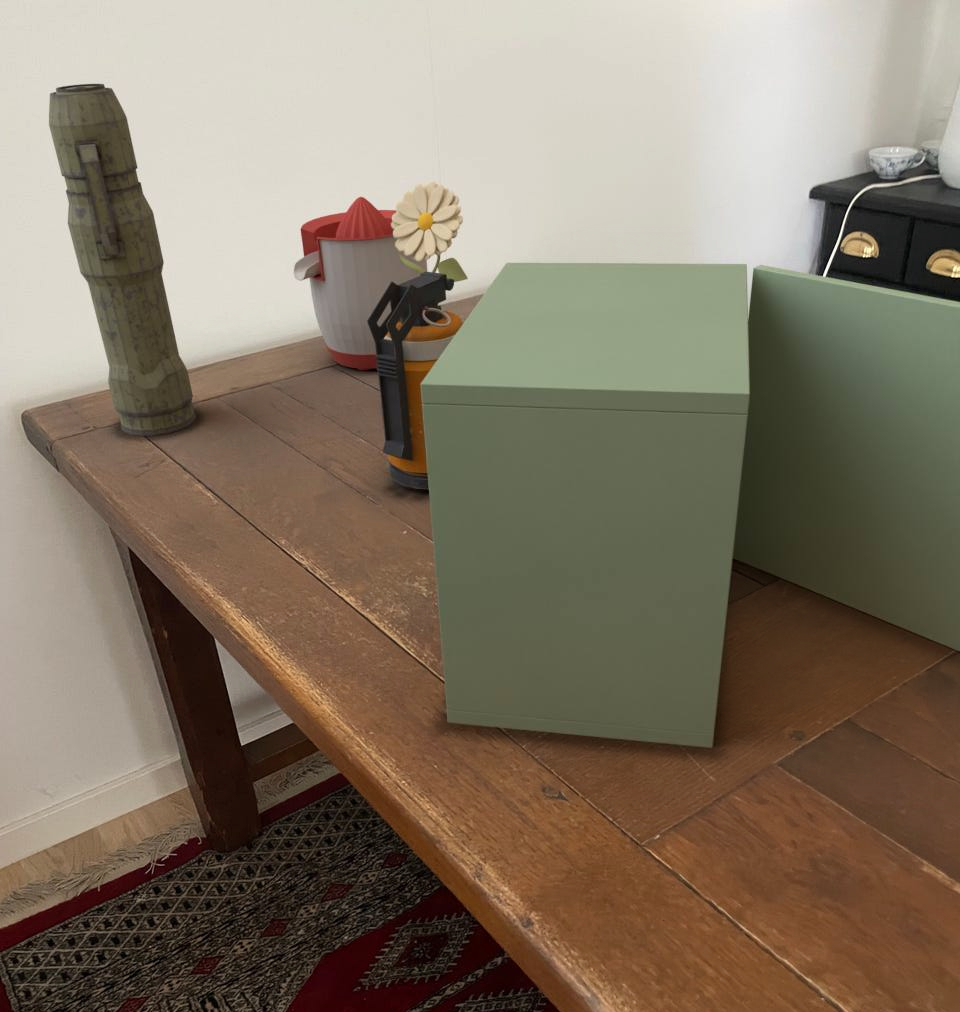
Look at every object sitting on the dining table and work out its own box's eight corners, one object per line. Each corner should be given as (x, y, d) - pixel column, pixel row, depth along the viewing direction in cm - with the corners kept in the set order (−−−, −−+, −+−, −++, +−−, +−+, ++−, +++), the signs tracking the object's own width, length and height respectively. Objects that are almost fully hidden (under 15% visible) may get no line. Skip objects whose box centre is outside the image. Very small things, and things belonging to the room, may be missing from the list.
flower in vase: (363, 408, 121) (337, 181, 107) (437, 383, 127) (421, 164, 113) (432, 438, 113) (414, 195, 99) (508, 409, 119) (501, 177, 105)
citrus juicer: (289, 355, 139) (265, 197, 128) (405, 331, 145) (392, 179, 134) (331, 388, 127) (309, 218, 116) (455, 361, 134) (445, 197, 122)
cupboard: (718, 554, 89) (746, 263, 75) (712, 749, 68) (750, 393, 54) (514, 541, 92) (506, 262, 79) (447, 723, 71) (419, 383, 57)
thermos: (192, 398, 127) (123, 77, 107) (201, 432, 117) (128, 87, 98) (118, 410, 124) (35, 85, 105) (122, 445, 115) (31, 96, 96)
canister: (495, 468, 105) (487, 268, 94) (431, 511, 98) (414, 300, 87) (425, 451, 110) (410, 258, 99) (359, 491, 102) (334, 288, 91)
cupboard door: (777, 524, 92) (813, 246, 79) (1080, 637, 76) (1192, 309, 62) (724, 555, 88) (753, 267, 75) (1033, 682, 72) (1141, 341, 58)
